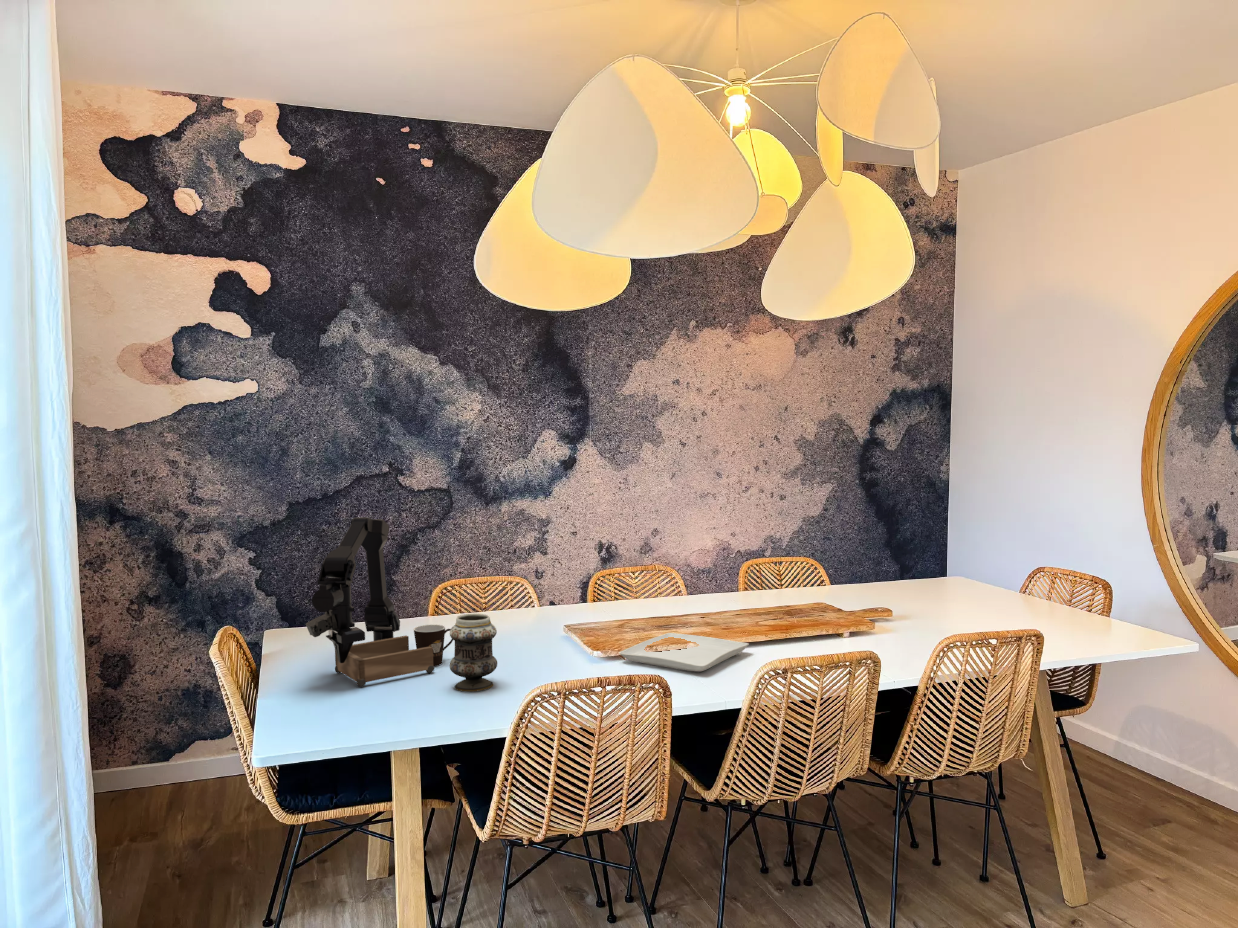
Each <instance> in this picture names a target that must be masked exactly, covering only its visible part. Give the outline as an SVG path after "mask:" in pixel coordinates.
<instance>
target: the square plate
mask: <svg viewBox="0 0 1238 928" xmlns="http://www.w3.org/2000/svg"><path fill="white" fill-rule="evenodd" d="M668 637H674V638H681V639H685V640H687V641H691V642H696V643H697V644H699V645H700V646H698V647H693V648H687V649H681V650H670V651H662V652H646V651H645V650H644V649H645V647H646V646H647V645H650V644H652V643H653V642H656V641H659V640H661V639H664V638H668ZM749 645H750V643H748V642H743V641H742V642H741V641H736V640H731V639H730V640H729V639H723V638H717V637H710V636H704V635H695V634H686V633H675V632H667V633H664V634H661V635H658V636H655V637H652V638H649V639H647V640H644V641H642V642H640V643H637V644H635V645H632V646H630V647H628V648H626V649H624V650H621V651H619V652H618V653H619V655H620V656H622V657H623V658H624V659H626V660H628V661H630V662H634V663H640V664H645V665H650V666H654V667H655V666H656V667H661V668H662V667H663V668H668V669H674V670H680V671H684V672H685V671H686V672H704V671H706V670H708V669H711V668H712V667H714V666H716V665H718V664H720V663H722V662H724V661H726V660H728V659H730V658H731V657H734V656H736V655H738V654H740V653H742V652H743V651H744V650H745V649H747V647H748V646H749Z"/></svg>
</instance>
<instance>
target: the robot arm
mask: <svg viewBox="0 0 1238 928" xmlns="http://www.w3.org/2000/svg"><path fill="white" fill-rule="evenodd" d="M389 530H390V525H389V524H388V522H387V521H385V520H384V519H383V518H380V519H379V518H378V519H377V518H376V519H373V518H370V517H367V516H365V517H354V518H352V519H351V520H350V526H349V528H348V529H347V531H346V533H345V535H344V536H343V538H342V540H341V542H340V544H339V545H338V546H337V548H335V549H334V550H331V551H330V552H328V554H327V555H326V556H325V557H324V560H322V564H321V567H320V571H319V576H318V580H317V581H316V583H317V585H318V590H317V591H315V592H314V594H313V595H312V598H311V602H312V606H313V608H314V609H315V610H316V611H318V612H320V613H324V614H322V615H319V616H317V617H315V618H313V619H311V620H310V621H309V620H308V622H306V623H305V626H306V628H307V630H308V633H309V635H310V636H313V637H314V638H318V637H320V636H321V635H322V634H324V633H326V632H327V631H328V632H327V633H328V635H325V638H327V639H328V640H329V641H330V642H332V643H333V646H334V651H335V650H336V653H337V656H338V660H339V662H340V663H344V662H345V660H346V658H347V655H348V653H349V651H350V649H351V647H352V645H354V643H356V642H361V641H365V640H366V633H368V632H372V633H373V634H372V636H373V641H377V640H383V639H389V638H394V633H395V632H398V631H400V630H401V620H400V618H399V617H398V614H397V612H396V611H395V605H394V603H393V602H392V600H391V599H390V597H389V596H388V594H387V593H388V592H387V580H386V579H387V578H386V571H385V569H386V568H385V557H384V546H385V544H386V543H387V541H388V539H389V538H388V537H389V532H390V531H389ZM361 547H362V548H363V550H364V551H365V555H366V556H365V557H366V564H367V565H366V567H367V577H368V578H367V579H368V589H369V601H368V603H367V605H366V606H365V607H364V617H363V618H364V619H363V620H364V626H365V630H366V632H365V631H364V630H363V629H361V628H359V627H358V626H357V627H356V626H355V625H356V622H354V621H353V617H352V616H353V615H352V614H353V612H355V606H352V584H353V577H354V574H355V571H356V567H357V564H356V560H355V558H356V556H357V554H358V551H359V550H360V548H361Z"/></svg>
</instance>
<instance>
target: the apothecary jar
mask: <svg viewBox="0 0 1238 928" xmlns="http://www.w3.org/2000/svg"><path fill="white" fill-rule="evenodd" d="M450 629H451V630H450V631H449V637H450V638H451V639H453V641H454V654H453V655H454V657H452V658H451V660H450V662H449V671H450V672H451V673H452V674H454V675H456V676H457V677H461V678H465V679H462V680H460V681H459V682H456V683H455V684H454V689H455V690H456V691H458V692H459V691H460V692H465V693H476V692H483V691H488V690H490V689H491V688H493V687H494V682H493V681H492V680H489V679H487V678H485V677H486V676H488V675H490V674H492V673H494V671H495V670H496V669H497V667H498V659H497V658H496V657H495V656H493V639H494V638H495V637H496V635H497V627H496V626H495V625H494V624H493V623H492V621H491V616H490V615H488V614H485V613H464V614H460V615H458V616H456V619H455V623H454V625H453V626H452V627H451V628H450Z"/></svg>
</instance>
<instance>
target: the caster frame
mask: <svg viewBox="0 0 1238 928" xmlns="http://www.w3.org/2000/svg"><path fill="white" fill-rule="evenodd" d="M393 637H394V636H393ZM409 639H410V638H409V635H401V636H396V637H394V638H389V639H383V640H377V641H374V640H372V641H367V642H366V641H365V642H361V643H355V644H354V643H353V645H352V647H351V649H350V651H349V653H348V655H347V658H346V660H345V662H344V663H340V662H339V660H338V656H337V653H336V650H335V649H334V660H335V664H334V665H335V667H334V672H335V673H336V674H343V675H345V676H347V677H348V678H350V679H351V680H352V681H355V682H356V685H357V687H359V688H360V687H361V688H362V687H364V686H366V683H369V682H374V681H379V680H384V679H389V678H394V677H399V676H403V675H410V674H414V673H419V672H424V671H425V672H426V673H427V674H428V673H429V674H430V673H433V672H434V671H435V666H433V647H431V646H429V647H424V648H419V649H416V648H414V649H413V648H412V649H410V642H409V641H410V640H409Z"/></svg>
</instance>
